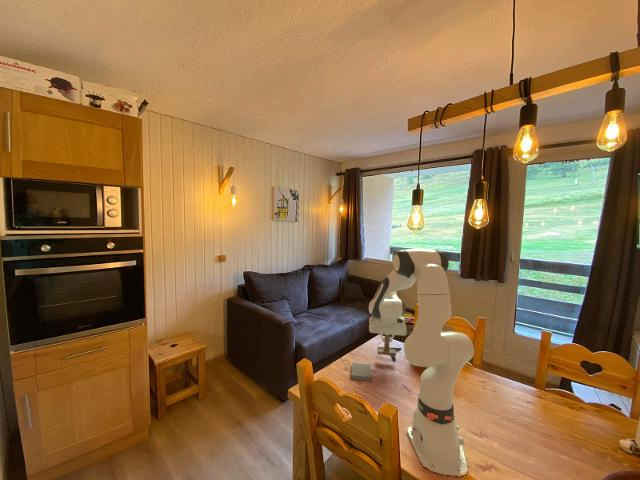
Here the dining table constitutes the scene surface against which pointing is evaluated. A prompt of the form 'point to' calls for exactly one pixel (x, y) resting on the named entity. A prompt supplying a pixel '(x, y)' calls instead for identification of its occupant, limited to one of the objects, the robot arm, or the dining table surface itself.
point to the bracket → (393, 349)
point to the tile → (361, 371)
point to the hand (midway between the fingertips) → (387, 341)
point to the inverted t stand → (386, 347)
